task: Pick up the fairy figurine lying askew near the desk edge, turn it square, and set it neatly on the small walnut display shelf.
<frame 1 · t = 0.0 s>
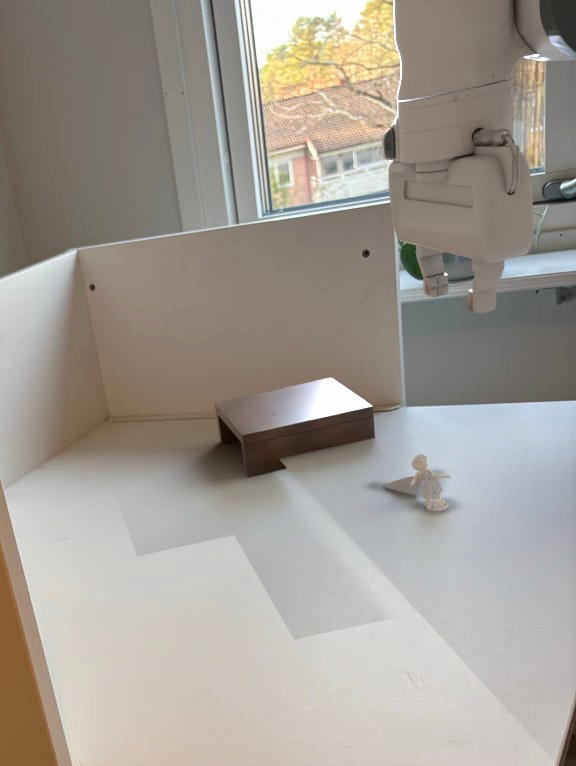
hand: (458, 302, 85), 18 cm above the table, tool pointing down, fingers open, 8 cm apart
display shelf: (293, 444, 116), on the table
fairy figurine: (423, 508, 93), on the table
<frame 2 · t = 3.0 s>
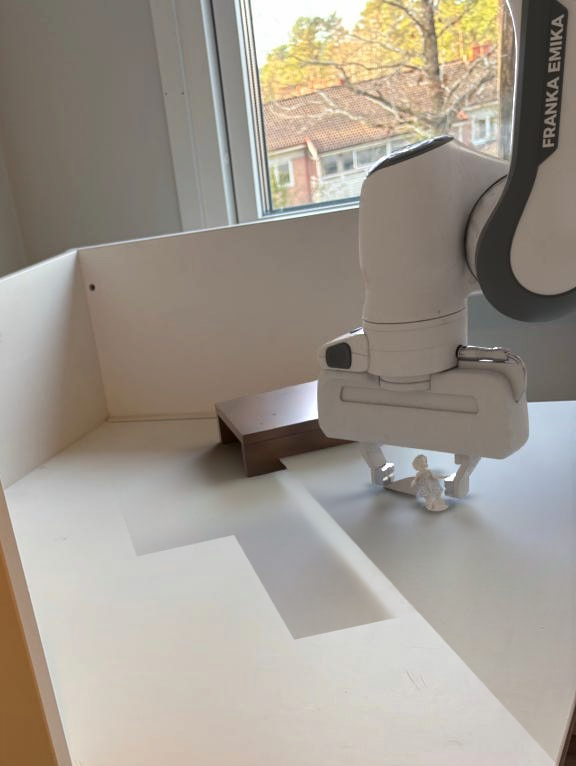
hand: (418, 489, 92), 2 cm above the table, tool pointing down, fingers closed on fairy figurine, 6 cm apart
fairy figurine: (423, 509, 93), on the table, touching gripper
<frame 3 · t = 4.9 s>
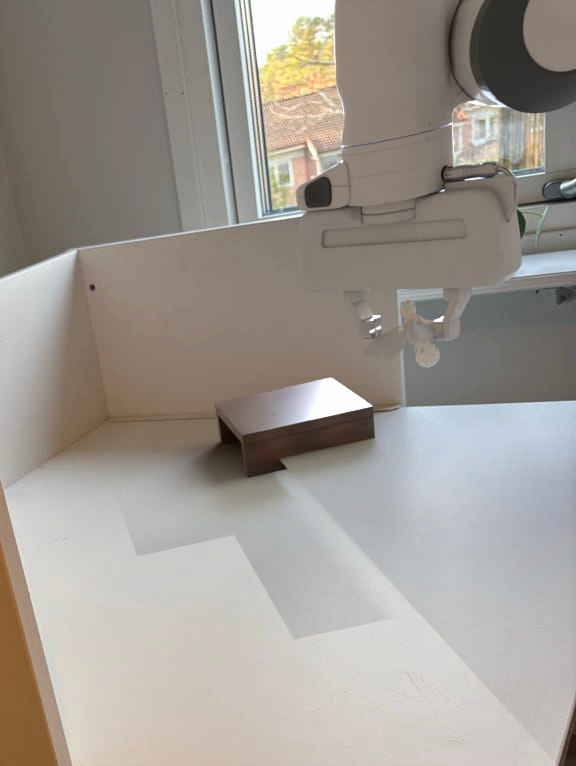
hand: (406, 338, 87), 16 cm above the table, tool pointing down, fingers closed on fairy figurine, 6 cm apart
fairy figurine: (413, 361, 88), point 14 cm above the table, touching gripper
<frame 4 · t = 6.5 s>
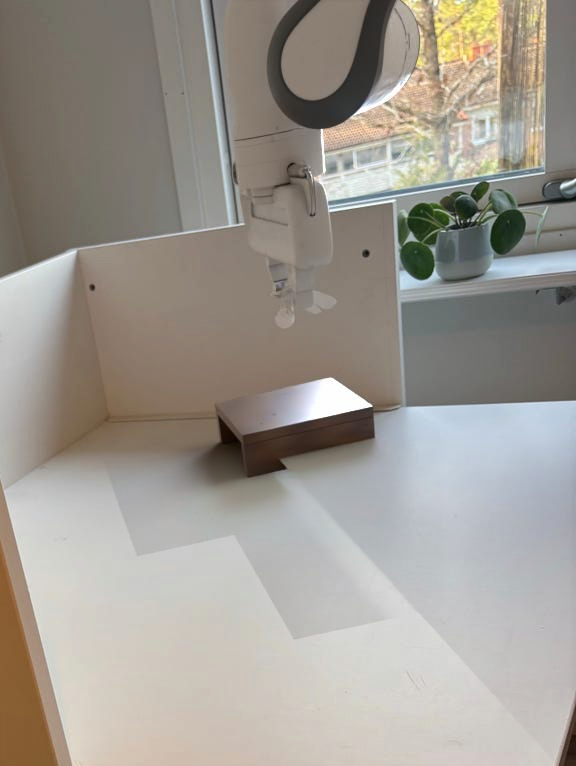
hand: (292, 301, 105), 17 cm above the table, tool pointing down, fingers closed on fairy figurine, 6 cm apart
fairy figurine: (297, 321, 105), point 15 cm above the table, touching gripper
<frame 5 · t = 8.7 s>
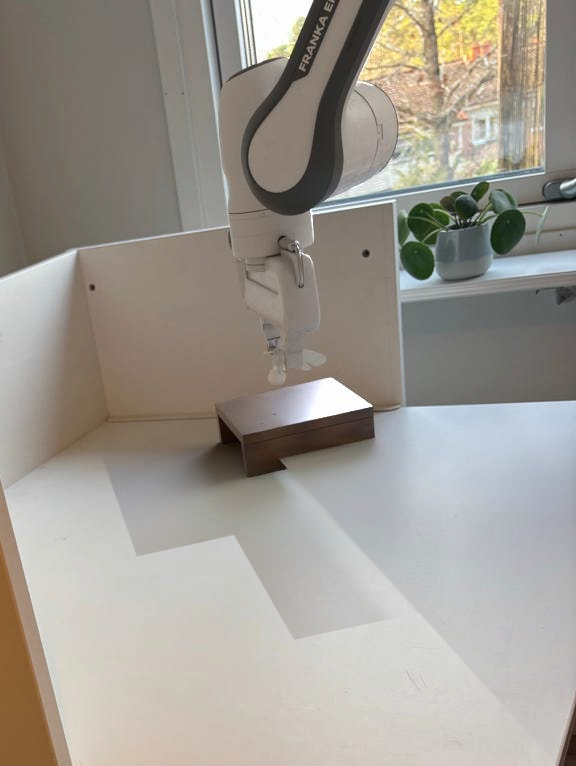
hand: (284, 359, 111), 10 cm above the table, tool pointing down, fingers closed on fairy figurine, 6 cm apart
fairy figurine: (289, 378, 112), point 8 cm above the table, touching gripper
when the fingers open (7 cm above the table, at t = 10.4 s): fairy figurine stays where it is, resting on display shelf.
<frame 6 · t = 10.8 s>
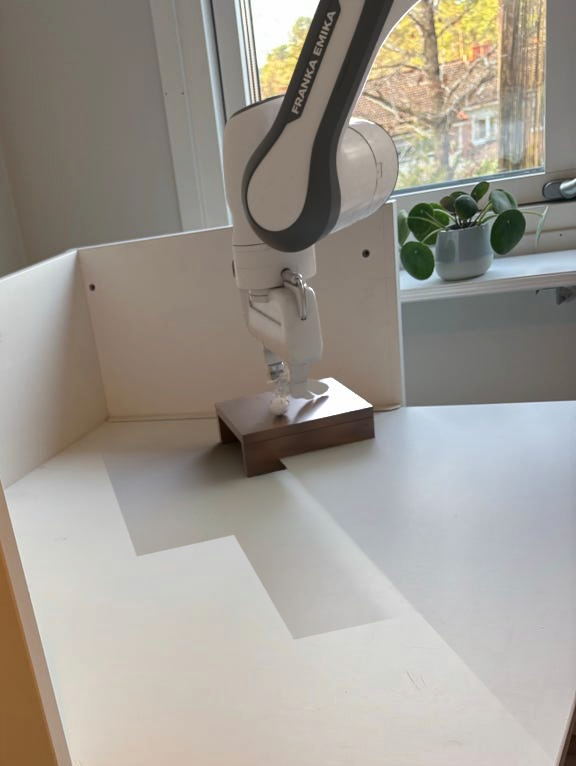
hand: (287, 387, 113), 7 cm above the table, tool pointing down, fingers open, 8 cm apart
fairy figurine: (291, 406, 113), point 5 cm above the table, touching display shelf
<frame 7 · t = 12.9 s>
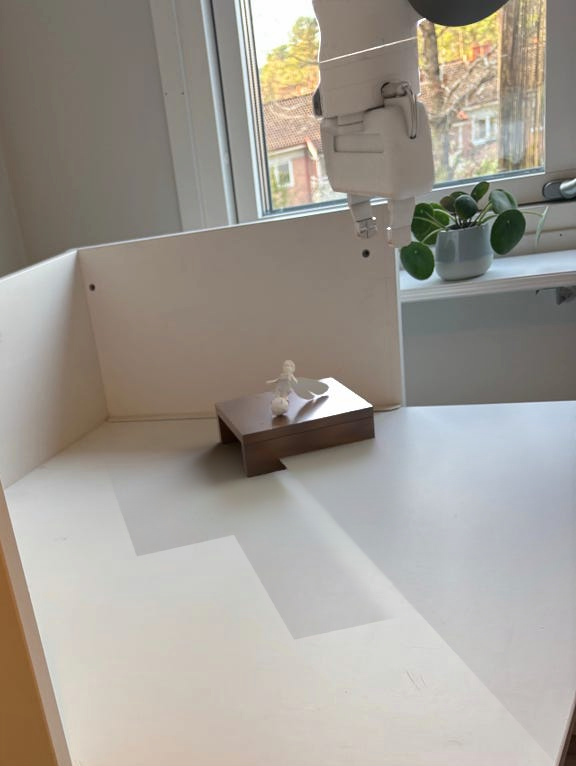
hand: (382, 242, 96), 22 cm above the table, tool pointing down, fingers open, 8 cm apart
nothing on the table moved.
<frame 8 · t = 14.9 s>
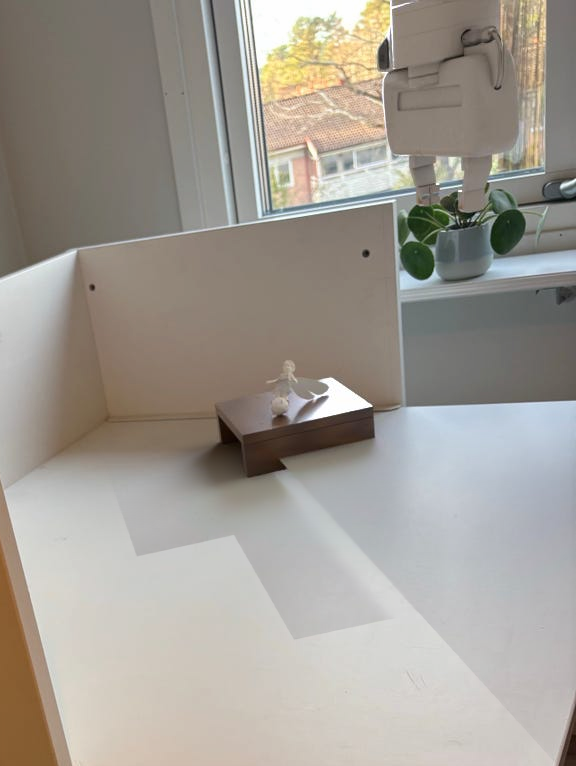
hand: (448, 208, 89), 25 cm above the table, tool pointing down, fingers open, 8 cm apart
nothing on the table moved.
at the end: fairy figurine inside the target area on the display shelf (0.5 cm from its centre), point 4.8 cm above the display shelf's base; fairy figurine touching display shelf; the gripper is holding nothing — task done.
